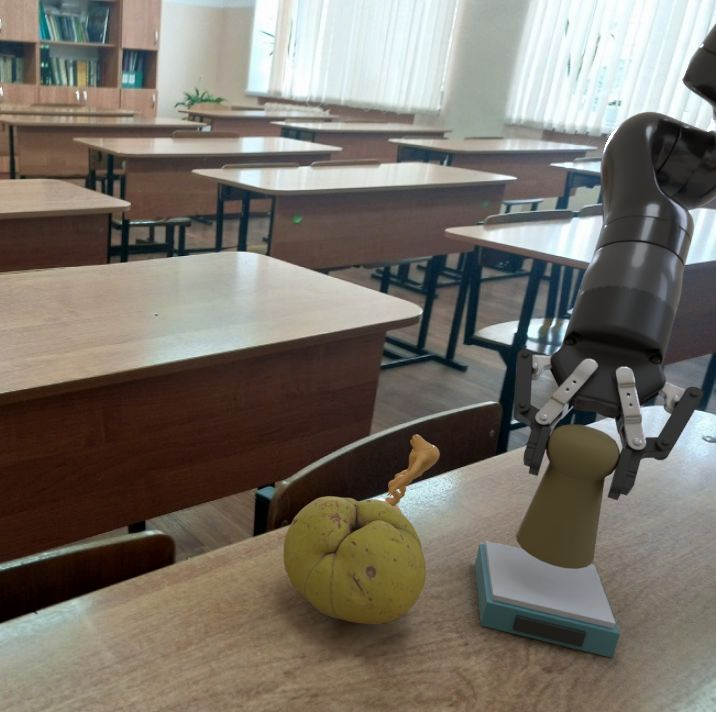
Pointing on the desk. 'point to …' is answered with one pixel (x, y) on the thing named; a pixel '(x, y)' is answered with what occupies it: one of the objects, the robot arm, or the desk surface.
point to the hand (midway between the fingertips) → (573, 483)
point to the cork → (569, 497)
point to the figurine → (412, 469)
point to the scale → (544, 600)
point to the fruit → (355, 559)
